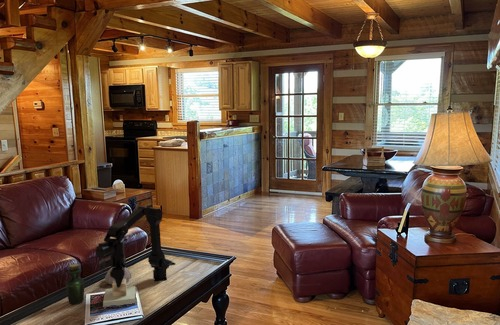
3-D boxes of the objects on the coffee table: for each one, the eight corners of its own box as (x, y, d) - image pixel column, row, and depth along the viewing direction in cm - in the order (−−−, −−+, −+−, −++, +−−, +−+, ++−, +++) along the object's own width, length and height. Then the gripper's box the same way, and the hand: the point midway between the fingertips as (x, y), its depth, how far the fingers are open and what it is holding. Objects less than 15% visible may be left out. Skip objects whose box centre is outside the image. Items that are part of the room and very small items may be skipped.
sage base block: (135, 291, 196) (135, 285, 196) (135, 304, 183) (134, 298, 182) (105, 295, 192) (105, 289, 192) (103, 308, 179) (103, 302, 178)
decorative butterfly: (162, 254, 238) (174, 253, 233) (164, 265, 238) (176, 264, 233) (150, 260, 229) (162, 259, 224) (152, 270, 229) (164, 270, 224)
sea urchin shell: (136, 280, 210) (135, 266, 209) (113, 289, 199) (112, 274, 198) (122, 274, 218) (122, 260, 217) (100, 281, 208) (99, 267, 207)
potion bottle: (70, 297, 190) (68, 262, 187) (88, 297, 190) (86, 261, 188) (64, 305, 181) (61, 268, 179) (82, 305, 182) (80, 268, 180)
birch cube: (126, 290, 191) (126, 278, 190) (126, 295, 185) (125, 283, 184) (113, 291, 189) (113, 280, 188) (112, 297, 183) (112, 285, 183)
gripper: (101, 247, 191) (102, 277, 193) (97, 260, 173) (99, 293, 175) (125, 245, 194) (126, 275, 196) (123, 257, 176) (125, 290, 178)
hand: (119, 283), depth 186 cm, fingers open, 9 cm apart
